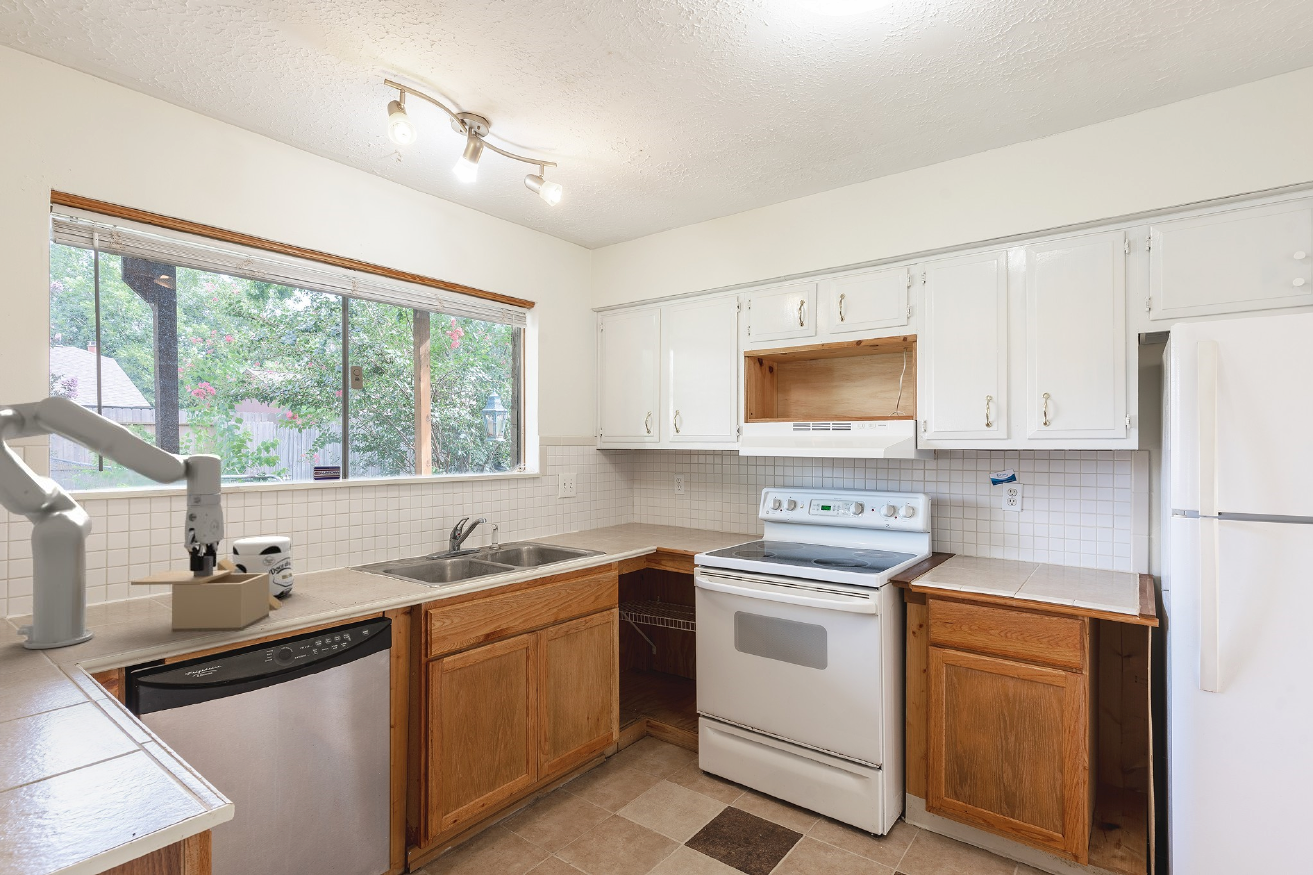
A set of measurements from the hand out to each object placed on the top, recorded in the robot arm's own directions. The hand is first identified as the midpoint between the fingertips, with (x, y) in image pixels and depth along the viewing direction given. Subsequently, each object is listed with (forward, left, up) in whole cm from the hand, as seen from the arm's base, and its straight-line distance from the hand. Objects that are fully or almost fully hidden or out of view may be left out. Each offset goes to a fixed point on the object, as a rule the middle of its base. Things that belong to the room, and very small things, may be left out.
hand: (203, 568), depth 175 cm
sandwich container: (+4, +16, -15) cm, 22 cm away
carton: (+5, 0, -15) cm, 16 cm away
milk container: (0, +30, -15) cm, 34 cm away
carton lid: (-5, 0, -3) cm, 6 cm away
